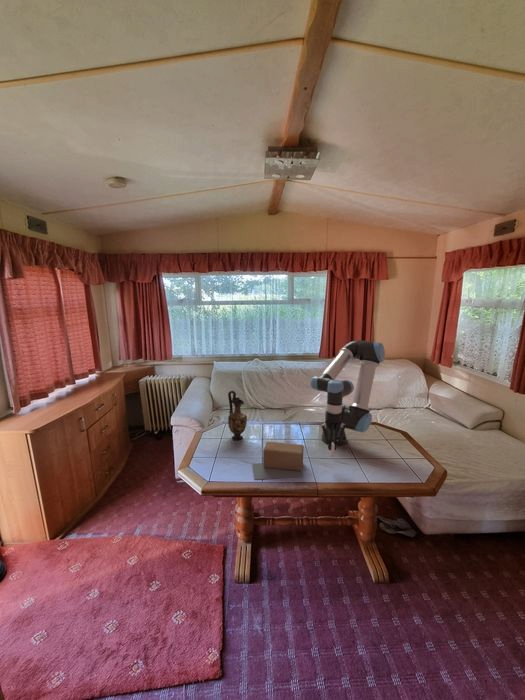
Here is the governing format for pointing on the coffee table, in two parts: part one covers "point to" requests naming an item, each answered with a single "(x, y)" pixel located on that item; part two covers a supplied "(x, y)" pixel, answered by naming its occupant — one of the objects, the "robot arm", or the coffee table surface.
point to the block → (283, 456)
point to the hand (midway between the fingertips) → (331, 455)
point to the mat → (273, 472)
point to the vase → (236, 417)
